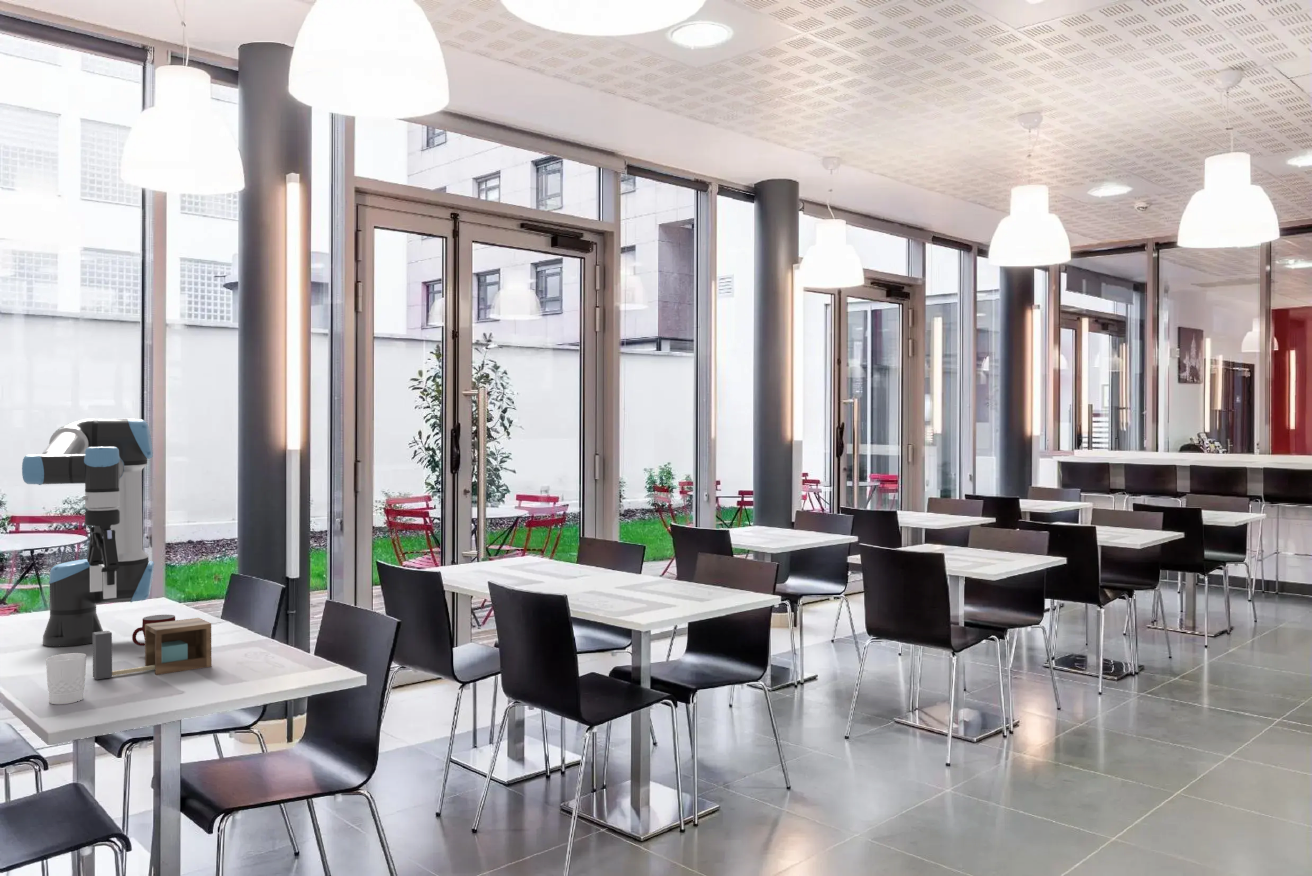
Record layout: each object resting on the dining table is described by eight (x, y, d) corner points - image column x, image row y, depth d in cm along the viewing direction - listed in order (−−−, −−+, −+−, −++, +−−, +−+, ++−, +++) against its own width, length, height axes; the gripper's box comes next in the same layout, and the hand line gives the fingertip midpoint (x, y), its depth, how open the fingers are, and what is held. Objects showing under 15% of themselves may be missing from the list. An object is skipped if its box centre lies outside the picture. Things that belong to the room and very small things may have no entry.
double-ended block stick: (91, 676, 247) (91, 631, 247) (180, 662, 261) (180, 621, 261) (97, 680, 243) (97, 635, 243) (187, 667, 257) (187, 624, 256)
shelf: (145, 667, 257) (144, 624, 257) (198, 659, 266) (198, 617, 266) (156, 674, 250) (156, 630, 250) (211, 666, 258) (211, 623, 258)
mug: (132, 659, 266) (132, 622, 266) (132, 653, 274) (131, 617, 273) (176, 654, 272) (176, 618, 271) (174, 649, 279) (174, 613, 279)
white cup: (57, 696, 230) (57, 653, 230) (92, 695, 231) (92, 652, 230) (39, 706, 222) (38, 661, 222) (76, 705, 223) (75, 660, 223)
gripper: (73, 506, 253) (74, 590, 253) (97, 512, 234) (98, 603, 234) (106, 505, 258) (107, 587, 258) (132, 511, 239) (133, 599, 239)
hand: (102, 594), depth 246 cm, fingers open, 13 cm apart
